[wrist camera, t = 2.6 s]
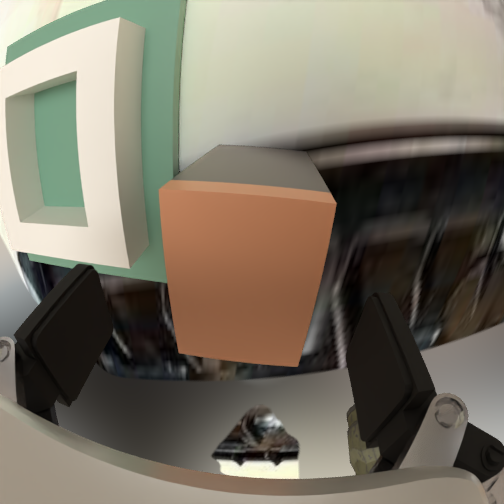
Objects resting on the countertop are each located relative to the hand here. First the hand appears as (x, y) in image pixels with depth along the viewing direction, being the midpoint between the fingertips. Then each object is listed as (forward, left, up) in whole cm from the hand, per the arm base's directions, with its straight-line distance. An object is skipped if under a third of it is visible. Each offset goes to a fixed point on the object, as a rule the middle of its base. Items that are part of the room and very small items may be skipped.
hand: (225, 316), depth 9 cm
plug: (-1, 0, -10) cm, 10 cm away
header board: (-5, -13, -9) cm, 16 cm away
